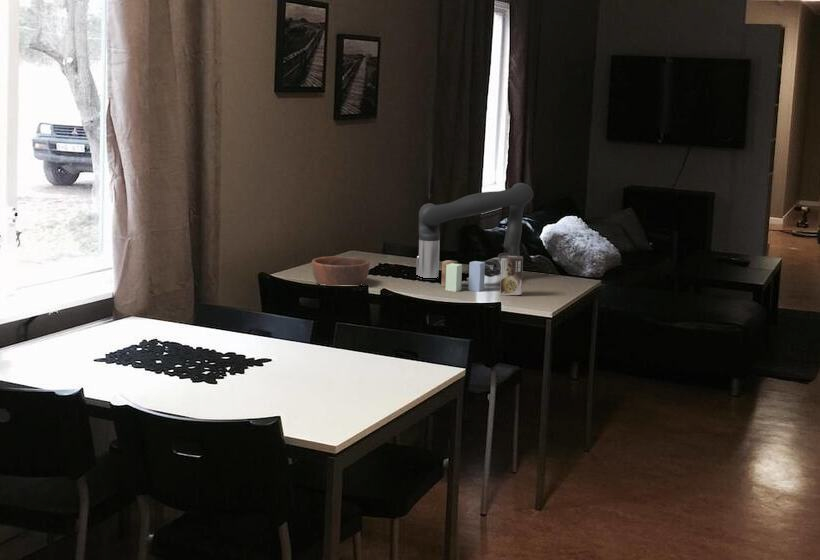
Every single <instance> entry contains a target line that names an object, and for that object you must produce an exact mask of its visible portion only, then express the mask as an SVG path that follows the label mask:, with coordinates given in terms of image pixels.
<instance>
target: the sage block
mask: <svg viewBox="0 0 820 560" xmlns="http://www.w3.org/2000/svg"><path fill="white" fill-rule="evenodd" d="M462 272H463V264H461V263H458V264H454V263H451V264H447V265H446V287H444V288H445V291H447V292H448V291H449V292H454V293H456V292H459V291H461V290H462V281H463V280H462V277H463V275H462V274H463V273H462Z"/></svg>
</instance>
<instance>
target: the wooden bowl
mask: <svg viewBox="0 0 820 560" xmlns="http://www.w3.org/2000/svg"><path fill="white" fill-rule="evenodd" d="M370 265H371V262H370V260H369V259H367V258H363V257H357V256H347V255H346V256H344V255H343V256H342V255H336V256H335V255H334V256H333V255H332V256H320V257H317V258H316V257H315V258H313V259H312V260H311V269H312V275H313V278H314V280H315V282H316V283H317V285H319V284H326V285H361V284H363V285H364V284H365V283H366V281H367V279H368V276H369V271H370ZM361 286H362V285H361Z"/></svg>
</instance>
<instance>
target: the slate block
mask: <svg viewBox="0 0 820 560" xmlns="http://www.w3.org/2000/svg"><path fill="white" fill-rule="evenodd" d="M468 266H469V274H468V291H471V292H482V291H485V276H486V275H485V261H478V260H474V261H473V260H472V261H470V262H469V265H468Z"/></svg>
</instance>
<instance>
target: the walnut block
mask: <svg viewBox="0 0 820 560" xmlns="http://www.w3.org/2000/svg"><path fill="white" fill-rule="evenodd" d="M458 262H459V261H458V260H449V259H448V260H447V259H446V260H444V261H441V281H440V282H441V284H440V285H441V288H446V265H447V264H451V263H454V264H459V263H458Z"/></svg>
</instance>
